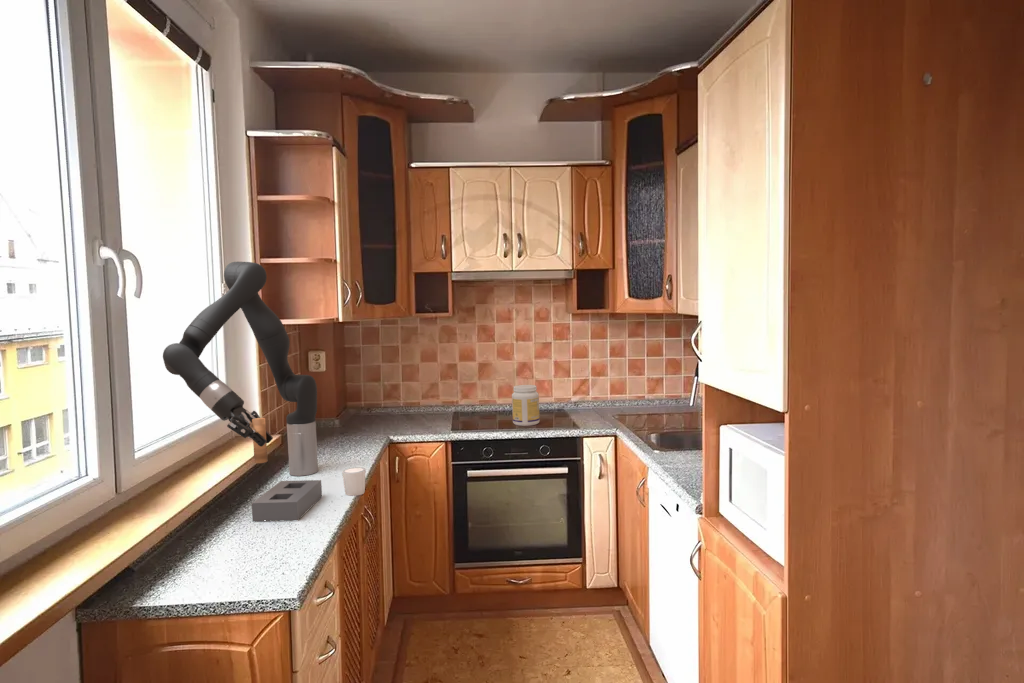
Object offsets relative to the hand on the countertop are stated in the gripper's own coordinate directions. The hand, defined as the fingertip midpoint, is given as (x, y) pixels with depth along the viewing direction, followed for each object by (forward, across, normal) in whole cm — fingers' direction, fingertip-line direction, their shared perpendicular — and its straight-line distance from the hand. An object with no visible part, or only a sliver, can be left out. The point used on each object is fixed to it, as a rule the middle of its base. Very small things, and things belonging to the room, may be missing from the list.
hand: (267, 442), depth 176 cm
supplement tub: (+62, +112, -35) cm, 133 cm away
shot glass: (+28, +14, 0) cm, 31 cm away
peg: (+2, 0, +5) cm, 6 cm away
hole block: (+17, +1, +10) cm, 20 cm away
